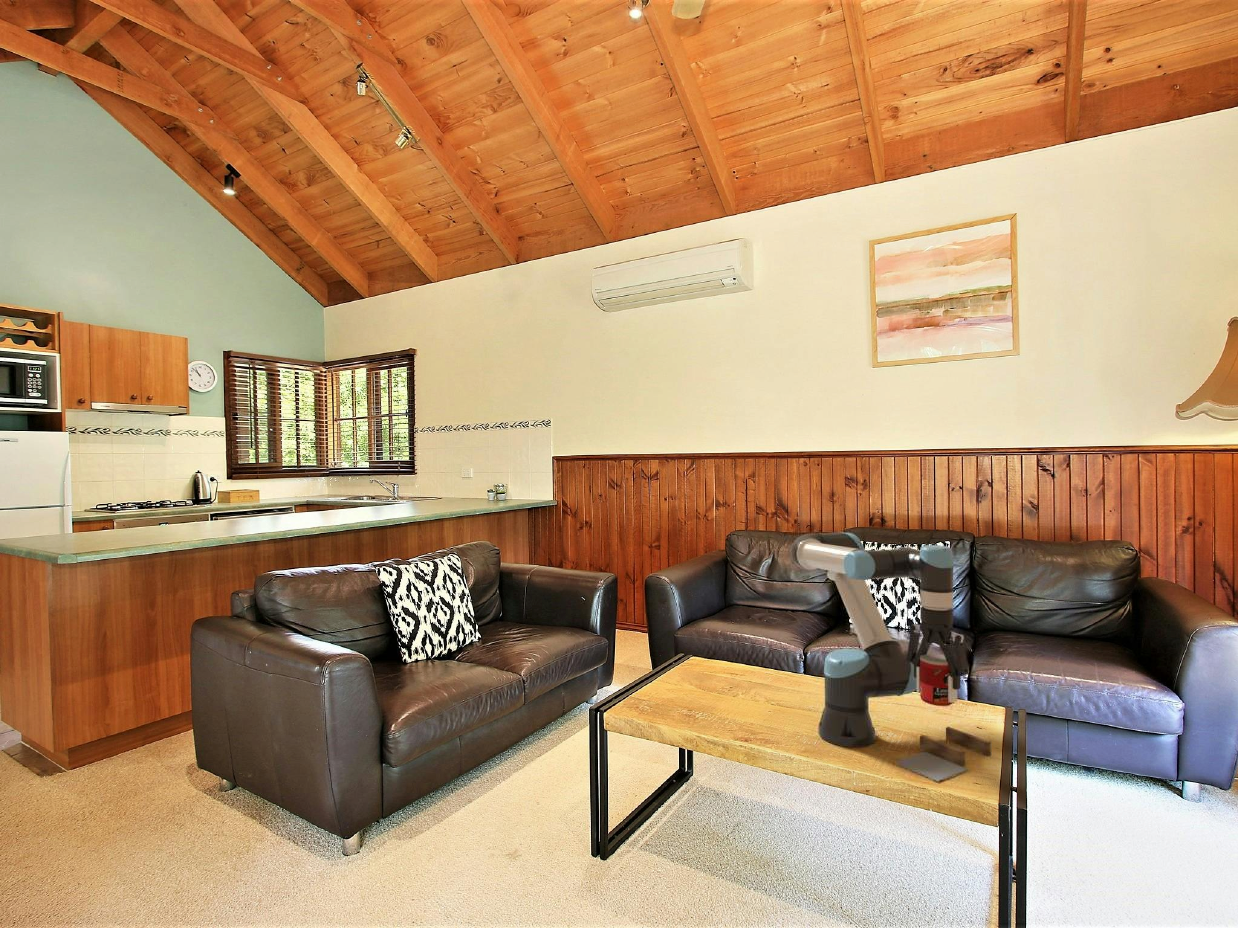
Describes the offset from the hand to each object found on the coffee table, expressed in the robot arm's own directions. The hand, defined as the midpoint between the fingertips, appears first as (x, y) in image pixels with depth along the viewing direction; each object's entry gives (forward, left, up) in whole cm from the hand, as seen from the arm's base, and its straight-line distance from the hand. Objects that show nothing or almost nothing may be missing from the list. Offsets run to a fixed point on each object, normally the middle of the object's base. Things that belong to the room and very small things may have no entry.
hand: (936, 695), depth 172 cm
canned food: (0, 0, -1) cm, 1 cm away
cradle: (-1, +10, -17) cm, 20 cm away
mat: (+1, -3, -17) cm, 17 cm away
